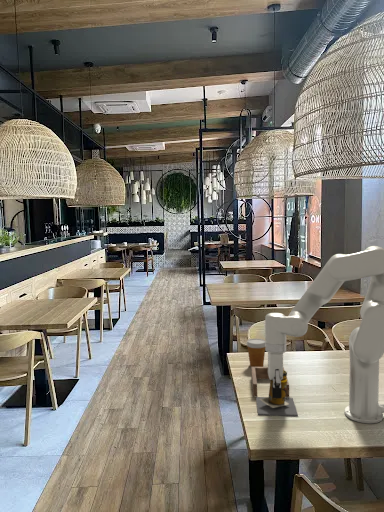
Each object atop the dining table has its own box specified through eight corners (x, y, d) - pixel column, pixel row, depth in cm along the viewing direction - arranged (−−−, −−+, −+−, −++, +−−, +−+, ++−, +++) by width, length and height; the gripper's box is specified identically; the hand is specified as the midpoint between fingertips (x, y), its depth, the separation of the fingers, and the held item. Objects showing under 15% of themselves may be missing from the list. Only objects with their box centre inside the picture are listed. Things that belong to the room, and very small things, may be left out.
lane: (283, 378, 182) (283, 367, 182) (289, 397, 163) (289, 384, 162) (251, 377, 184) (251, 366, 183) (253, 396, 164) (253, 384, 164)
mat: (292, 399, 161) (292, 397, 161) (297, 416, 147) (297, 414, 147) (256, 398, 162) (256, 397, 162) (257, 415, 148) (257, 413, 148)
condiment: (289, 404, 153) (293, 373, 152) (272, 408, 149) (276, 376, 148) (275, 396, 159) (279, 366, 158) (259, 400, 155) (262, 369, 154)
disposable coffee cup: (245, 362, 204) (245, 338, 203) (265, 362, 203) (265, 338, 202) (247, 369, 194) (247, 344, 193) (268, 369, 194) (267, 343, 193)
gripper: (263, 339, 162) (264, 384, 163) (267, 354, 144) (267, 404, 146) (283, 340, 161) (283, 385, 162) (289, 354, 144) (289, 404, 145)
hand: (276, 393), depth 154 cm, fingers closed on condiment, 6 cm apart
